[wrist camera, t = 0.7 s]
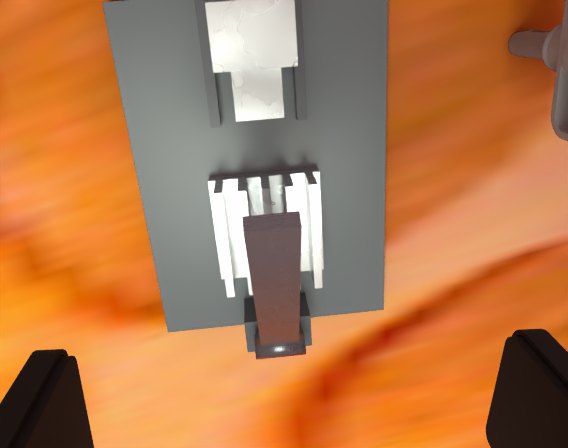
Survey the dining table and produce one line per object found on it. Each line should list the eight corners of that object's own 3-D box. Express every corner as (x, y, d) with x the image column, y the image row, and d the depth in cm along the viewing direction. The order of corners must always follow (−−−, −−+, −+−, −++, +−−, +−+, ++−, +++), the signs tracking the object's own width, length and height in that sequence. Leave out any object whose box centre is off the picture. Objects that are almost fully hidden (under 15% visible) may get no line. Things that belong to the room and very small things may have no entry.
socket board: (378, 301, 37) (395, 336, 33) (171, 322, 37) (162, 361, 33) (381, -18, 29) (404, -23, 24) (108, 3, 28) (85, 0, 24)
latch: (290, 98, 29) (301, 116, 24) (224, 104, 29) (219, 123, 24) (283, 0, 27) (294, -5, 22) (212, 5, 27) (204, 2, 21)
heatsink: (321, 262, 34) (329, 287, 31) (222, 272, 34) (220, 298, 31) (317, 166, 31) (325, 183, 28) (209, 176, 31) (205, 194, 28)
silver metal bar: (302, 334, 33) (305, 357, 32) (255, 339, 32) (257, 362, 32) (307, 202, 20) (312, 233, 20) (232, 209, 20) (233, 241, 19)
